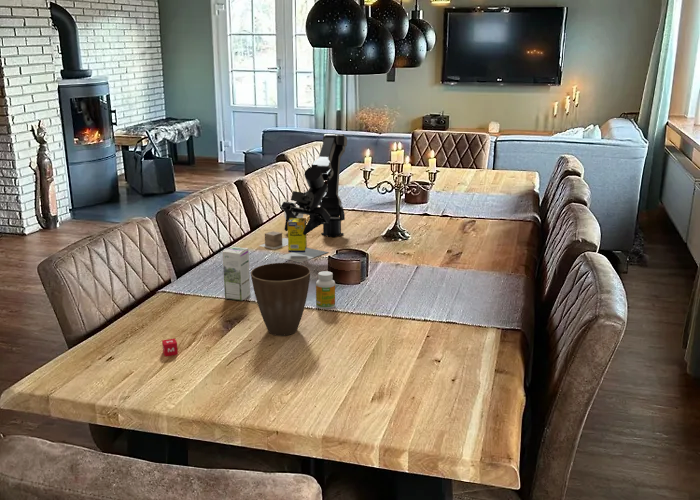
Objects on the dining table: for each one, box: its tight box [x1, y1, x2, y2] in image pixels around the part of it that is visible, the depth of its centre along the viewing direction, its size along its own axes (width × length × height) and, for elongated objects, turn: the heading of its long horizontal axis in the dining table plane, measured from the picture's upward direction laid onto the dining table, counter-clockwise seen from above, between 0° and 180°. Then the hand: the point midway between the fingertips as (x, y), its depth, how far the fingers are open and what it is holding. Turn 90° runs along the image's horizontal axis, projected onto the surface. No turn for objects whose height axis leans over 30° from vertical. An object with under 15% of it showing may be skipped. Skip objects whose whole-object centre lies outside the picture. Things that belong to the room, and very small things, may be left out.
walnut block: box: [264, 230, 283, 247], centre depth 256 cm, size 4×4×4 cm
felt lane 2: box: [278, 247, 329, 264], centre depth 245 cm, size 16×10×1 cm, turn 143°
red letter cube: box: [161, 338, 179, 357], centre depth 165 cm, size 3×3×3 cm
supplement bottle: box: [315, 270, 336, 310], centre depth 195 cm, size 5×5×10 cm
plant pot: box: [250, 262, 311, 337], centre depth 177 cm, size 15×15×16 cm
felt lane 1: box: [258, 237, 288, 250], centre depth 259 cm, size 14×8×1 cm, turn 143°
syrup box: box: [222, 246, 251, 302], centre depth 201 cm, size 6×6×14 cm
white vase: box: [283, 201, 304, 220], centre depth 275 cm, size 8×8×12 cm
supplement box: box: [287, 217, 308, 253], centre depth 241 cm, size 6×6×11 cm
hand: (294, 232), depth 239 cm, fingers closed on supplement box, 8 cm apart
